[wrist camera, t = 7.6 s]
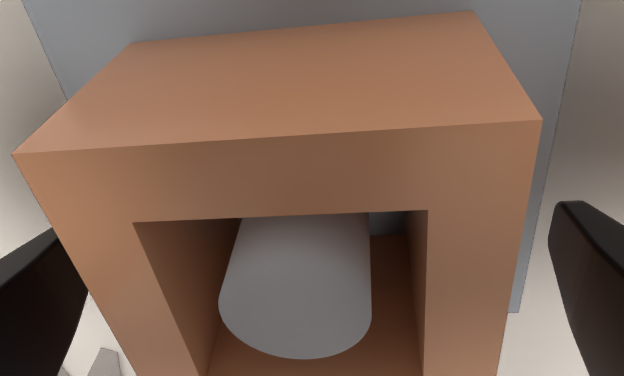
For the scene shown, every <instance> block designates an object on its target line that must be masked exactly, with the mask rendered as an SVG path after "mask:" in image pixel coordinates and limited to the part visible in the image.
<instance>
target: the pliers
mask: <svg viewBox="0 0 624 376" xmlns="http://www.w3.org/2000/svg"><path fill="white" fill-rule="evenodd" d="M58 376H69V375H68V373H67V372H66V371H65V370H64V368H63V367H62V366H61V369H60V371H59V373H58ZM87 376H121V374H120V367H119V361H118V355H117V352H115V351H111V350H107V349H104V348H101V349H100V351H99V353H98V355H97V357H96V359H95V361H94V363H93V365H92V367H91V369H90V371H89V373H88V375H87Z"/></svg>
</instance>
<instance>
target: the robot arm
mask: <svg viewBox="0 0 624 376" xmlns="http://www.w3.org/2000/svg"><path fill="white" fill-rule="evenodd" d="M548 248H549V252H550V256H551V260H552V263H553V267H554V271H555V274H556V278H557V282H558V286H559V289H560V293H561V297H562V300H563V304H564V308H565V312H566V315H567V318H568V322H569V325H570V328H571V330H572V333H573V336H574V338H575V341H576V343H577V346H578V348H579V351H580V353H581V356H582V358H583V361H584V363H585V366H586V368H587V370H588V373H589V375H590V376H624V225H622V224H620V223H619V222H617V221H615V220H614V219H612V218H611V217H609V216H607V215H606V214H604V213H603V212H601V211H599V210H598V209H596V208H595V207H593V206H591V205H590V204H588V203H586V202H584V201H580V200H577V201H560V202H559V203H557V204H556V206H555V208H554V213H553V217H552V222H551V226H550V230H549V235H548ZM88 291H89V290H88V289H87V287H86V285H85V283H84V282H83V280H82V278H81V276H80V275H79V273H78V271H77V269H76V268H75V266H74V264H73V262H72V261H71V259H70V257H69V255H68V254H67V252H66V250H65V248H64V247H63V245H62V243H61V241H60V240H59V238H58V236H57V234H56V233H55V231H54V229H53V227H52V228H50V229H48V230H47V231H45V232H43V233H42V234H40V235H39V236H37V237H35V238H34V239H32V240H30V241H29V242H27V243H26V244H24V245H22V246H21V247H19V248H17V249H16V250H14V251H12V252H11V253H9V254H8V255H6V256H4V257H3V258H1V259H0V376H58V373H59V371H60V369H61V366H62V364H63V361H64V359H65V357H66V354H67V352H68V350H69V347H70V345H71V343H72V340H73V337H74V335H75V332H76V330H77V327H78V324H79V321H80V318H81V314H82V311H83V308H84V304H85V301H86V298H87V295H88Z"/></svg>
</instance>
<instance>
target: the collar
mask: <svg viewBox="0 0 624 376" xmlns="http://www.w3.org/2000/svg"><path fill="white" fill-rule="evenodd" d="M542 123H543V118H542V117H541V115H540V114H539V112H538V111H537V109H536V108H535V106H534V104H533V103H532V101H531V100H530V98H529V97H528V95H527V94H526V92H525V90H524V89H523V87H522V86H521V84H520V83H519V81H518V80H517V78H516V76H515V75H514V73H513V72H512V70H511V69H510V67H509V66H508V64H507V62H506V61H505V59H504V58H503V56H502V55H501V53H500V51H499V50H498V48H497V47H496V45H495V44H494V42H493V41H492V39H491V37H490V36H489V34H488V33H487V31H486V30H485V28H484V27H483V25H482V23H481V22H480V20H479V19H478V17H477V16H476V14H475V13H474V11H473V10H471V11H460V12H450V13H439V14H428V15H418V16H407V17H397V18H386V19H376V20H365V21H355V22H344V23H334V24H323V25H313V26H302V27H291V28H281V29H270V30H260V31H249V32H239V33H228V34H218V35H207V36H197V37H186V38H176V39H165V40H154V41H144V42H133V43H129V44H128V45H127V46H126V47H125V48H124V49H123V50H122V51H121V52H120V53H119V54H118V55H117V56H115V57H114V58H113V59H112V60H111V61H110V62H109V63H108V64H107V65H106V66H105V67H104V68H103V69H102V70H100V71H99V72H98V73H97V74H96V75H95V76H94V77H93V78H92V79H91V80H90V81H89V82H88V83H86V84H85V85H84V86H83V87H82V88H81V89H80V90H79V91H78V92H77V93H76V94H75V95H74V96H72V97H71V98H70V99H69V100H68V101H67V102H66V103H65V104H64V105H63V106H62V107H61V108H60V109H59V110H57V111H56V112H55V113H54V114H53V115H52V116H51V117H50V118H49V119H48V120H47V121H46V122H45V123H43V124H42V125H41V126H40V127H39V128H38V129H37V130H36V131H35V132H34V133H33V134H32V135H31V136H29V137H28V138H27V139H26V140H25V141H24V142H23V143H22V144H21V145H20V146H19V147H18V148H17V149H16V150H14V151H13V152H12V153H11V155H12V157H13V159H14V161H15V162H16V164H17V166H18V168H19V169H20V171H21V173H22V175H23V177H24V178H25V180H26V182H27V184H28V185H29V187H30V189H31V191H32V192H33V194H34V196H35V198H36V199H37V201H38V203H39V205H40V206H41V208H42V210H43V212H44V213H45V215H46V217H47V219H48V220H49V222H50V224H51V226H52V227H53V229H54V231H55V233H56V234H57V236H58V238H59V240H60V241H61V243H62V245H63V247H64V248H65V250H66V252H67V254H68V255H69V257H70V259H71V261H72V262H73V264H74V266H75V268H76V269H77V271H78V273H79V275H80V276H81V278H82V280H83V282H84V283H85V285H86V287H87V289H88V290H89V292H90V294H91V296H92V297H93V299H94V301H95V303H96V304H97V306H98V308H99V310H100V311H101V313H102V315H103V317H104V318H105V320H106V322H107V324H108V325H109V327H110V329H111V331H112V332H113V334H114V336H115V338H116V339H117V341H118V343H119V345H120V346H121V348H122V350H123V352H124V354H125V355H126V357H127V359H128V361H129V362H130V364H131V366H132V368H133V369H134V371H135V373H136V375H137V376H496V375H497V369H498V364H499V358H500V353H501V347H502V342H503V336H504V331H505V325H506V320H507V314H508V309H509V304H510V298H511V293H512V287H513V282H514V276H515V271H516V265H517V260H518V254H519V249H520V243H521V238H522V232H523V227H524V221H525V216H526V210H527V205H528V199H529V194H530V188H531V183H532V177H533V172H534V166H535V161H536V155H537V150H538V145H539V139H540V134H541V128H542ZM386 211H405V234H398V235H370V270H371V305H372V319H371V323H370V326H369V329H368V331H367V332H366V334H365V335H364V337H363V338H362V339H361V340H360V341H359V342H358V343H356V344H355V345H354V346H353V347H351V348H349V349H347V350H345V351H343V352H341V353H339V354H335V355H332V356H329V357H324V358H317V359H290V358H283V357H278V356H274V355H270V354H267V353H264V352H262V351H259V350H257V349H255V348H253V347H251V346H249V345H247V344H246V343H244V342H243V341H241V340H240V339H238V338H237V337H236V336H235V335H234V334H233V333H232V332H231V331H230V330H229V329H228V328H227V326H226V325H225V323H224V322H223V320H222V317H221V315H220V312H219V305H218V300H219V294H220V291H221V288H222V284H223V281H224V278H225V274H226V271H227V268H228V264H229V261H230V258H231V254H232V251H233V248H234V244H235V241H236V237H237V234H238V231H239V227H240V222H239V218H246V217H269V216H293V215H316V214H339V213H362V212H386Z"/></svg>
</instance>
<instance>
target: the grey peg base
mask: <svg viewBox="0 0 624 376" xmlns="http://www.w3.org/2000/svg"><path fill="white" fill-rule="evenodd" d="M581 2H582V0H22V3H23V5H24V7H25V9H26V11H27V14H28V16H29V18H30V20H31V22H32V25H33V27H34V29H35V31H36V33H37V36H38V38H39V40H40V42H41V44H42V47H43V49H44V51H45V53H46V55H47V58H48V60H49V62H50V64H51V66H52V68H53V71H54V73H55V75H56V77H57V79H58V82H59V84H60V86H61V88H62V90H63V93H64V95H65V97H66V99H67V101H68V100H69V99H70V98H71V97H72V96H74V95H75V94H76V93H77V92H78V91H79V90H80V89H81V88H82V87H83V86H84V85H85V84H86V83H88V82H89V81H90V80H91V79H92V78H93V77H94V76H95V75H96V74H97V73H98V72H99V71H100V70H102V69H103V68H104V67H105V66H106V65H107V64H108V63H109V62H110V61H111V60H112V59H113V58H114V57H115V56H117V55H118V54H119V53H120V52H121V51H122V50H123V49H124V48H125V47H126V46H127V45H128V44H129V43H133V42H144V41H154V40H165V39H176V38H186V37H197V36H207V35H218V34H228V33H239V32H249V31H260V30H270V29H281V28H291V27H302V26H313V25H323V24H334V23H344V22H355V21H365V20H376V19H386V18H397V17H407V16H418V15H428V14H439V13H450V12H460V11H471V10H473V11H474V13H475V14H476V16H477V17H478V19H479V20H480V22H481V23H482V25H483V27H484V28H485V30H486V31H487V33H488V34H489V36H490V37H491V39H492V41H493V42H494V44H495V45H496V47H497V48H498V50H499V51H500V53H501V55H502V56H503V58H504V59H505V61H506V62H507V64H508V66H509V67H510V69H511V70H512V72H513V73H514V75H515V76H516V78H517V80H518V81H519V83H520V84H521V86H522V87H523V89H524V90H525V92H526V94H527V95H528V97H529V98H530V100H531V101H532V103H533V104H534V106H535V108H536V109H537V111H538V112H539V114H540V115H541V117H542V118H543V123H542V128H541V134H540V139H539V145H538V150H537V155H536V161H535V166H534V172H533V177H532V183H531V188H530V194H529V199H528V205H527V210H526V216H525V221H524V227H523V232H522V238H521V243H520V249H519V254H518V260H517V265H516V271H515V276H514V282H513V287H512V293H511V298H510V304H509V309H508V313H519V308H520V303H521V298H522V293H523V288H524V283H525V279H526V274H527V269H528V264H529V259H530V254H531V249H532V244H533V239H534V234H535V229H536V224H537V219H538V214H539V209H540V204H541V199H542V195H543V190H544V185H545V180H546V175H547V170H548V165H549V160H550V155H551V150H552V145H553V140H554V135H555V130H556V125H557V120H558V115H559V110H560V106H561V101H562V96H563V91H564V86H565V81H566V76H567V71H568V66H569V61H570V56H571V51H572V46H573V41H574V36H575V31H576V26H577V22H578V17H579V12H580V7H581ZM239 222H240V227H239V231H238V234H237V237H236V241H235V244H234V248H233V251H232V254H231V258H230V261H229V264H228V268H227V271H226V274H225V278H224V281H223V284H222V288H221V291H220V294H219V300H218V305H219V312H220V315H221V317H222V320H223V322H224V323H225V325H226V326H227V328H228V329H229V330H230V331H231V332H232V333H233V334H234V335H235V336H236V337H237V338H238V339H240V340H241V341H243V342H244V343H246V344H247V345H249V346H251V347H253V348H255V349H257V350H259V351H262V352H264V353H267V354H270V355H274V356H278V357H283V358H290V359H317V358H324V357H329V356H332V355H335V354H339V353H341V352H343V351H345V350H347V349H349V348H351V347H353V346H354V345H355V344H356V343H358V342H359V341H360V340H361V339H362V338H363V337H364V335H365V334H366V332H367V331H368V329H369V326H370V323H371V319H372V305H371V270H370V235H398V234H405V211H386V212H362V213H339V214H316V215H293V216H269V217H246V218H239Z"/></svg>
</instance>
